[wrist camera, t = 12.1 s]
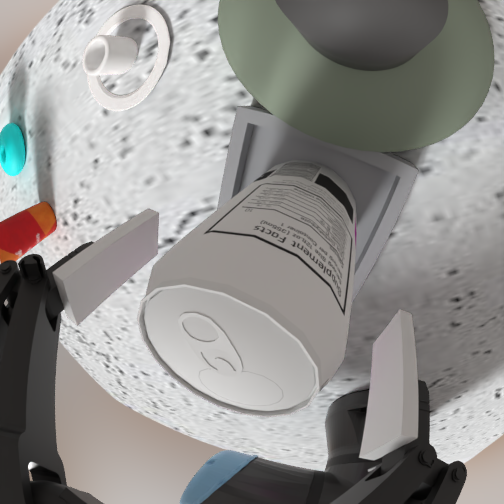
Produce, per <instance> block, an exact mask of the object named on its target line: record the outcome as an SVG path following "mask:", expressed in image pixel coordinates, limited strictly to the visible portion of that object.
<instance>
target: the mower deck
mask: <svg viewBox="0 0 504 504" xmlns="http://www.w3.org/2000/svg"><path fill="white" fill-rule="evenodd" d="M218 26H219V35H220V39H221V43H222V47H223V50H224V52H225V55H226V57H227V60H228V62H229V64H230V66H231V67H232V69H233V71H234V73H235V74H236V76H237V78H238V79H239V80H240V82H241V83H242V84H243V86H244V87H245V88H246V90H247V91H248V92H249V93H250V94H251V95H252V96H253V97H254V98H255V99H256V100H257V101H258V102H259V103H260V104H261V105H262V106H264V107H265V108H266V109H267V110H265V109H261V108H256V107H252V106H237V111H236V115H235V120H234V125H233V129H232V134H231V139H230V144H229V149H228V154H227V159H226V164H225V169H224V175H223V180H222V185H221V191H220V196H219V202H218V208H217V210H218V209H219V208H220V207H222V206H223V205H224V204H225V203H227V202H228V201H229V200H231V199H232V198H233V197H234V196H236V195H237V194H238V193H239V192H241V191H242V190H243V189H245V188H246V187H247V186H249V185H250V184H251V183H252V182H254V181H255V180H256V179H258V178H259V177H260V176H262V175H263V174H264V173H266V172H267V171H268V170H270V169H271V168H272V167H274V166H275V165H278V164H281V163H284V162H288V161H291V160H306V161H314V162H317V163H319V164H321V165H324V166H326V167H328V168H330V169H332V170H333V171H334V172H335V173H337V174H338V175H339V176H340V177H341V178H342V179H343V180H344V181H345V182H346V183H347V185H348V187H349V189H350V191H351V193H352V195H353V197H354V199H355V201H356V213H357V235H356V256H355V272H354V284H353V295H352V302H353V301H354V299H355V297H356V296H357V294H358V292H359V290H360V289H361V287H362V285H363V284H364V282H365V280H366V278H367V277H368V275H369V273H370V271H371V269H372V268H373V266H374V264H375V262H376V260H377V258H378V257H379V255H380V253H381V251H382V249H383V247H384V245H385V243H386V241H387V239H388V237H389V235H390V233H391V231H392V229H393V227H394V225H395V223H396V221H397V219H398V217H399V215H400V212H401V210H402V208H403V206H404V204H405V201H406V199H407V197H408V195H409V192H410V190H411V188H412V185H413V183H414V181H415V178H416V176H417V173H418V171H419V170H418V169H417V168H416V167H415V166H414V165H413V164H412V163H411V162H409V161H406V160H404V159H402V158H400V157H398V156H396V155H394V154H391V153H389V152H400V151H406V150H412V149H418V148H421V147H425V146H428V145H431V144H434V143H436V142H439V141H441V140H443V139H445V138H447V137H449V136H451V135H452V134H454V133H455V132H457V131H458V130H459V129H461V128H462V127H463V126H464V125H465V124H466V123H468V122H469V121H470V120H471V119H472V118H473V117H474V115H475V114H476V113H477V111H478V110H479V108H480V107H481V106H482V104H483V102H484V100H485V98H486V96H487V94H488V92H489V88H490V85H491V82H492V78H493V71H494V46H493V41H492V36H491V31H490V28H489V25H488V22H487V19H486V17H485V14H484V12H483V10H482V8H481V6H480V4H479V2H478V0H220V2H219V9H218Z"/></svg>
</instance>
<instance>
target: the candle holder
mask: <svg viewBox="0 0 504 504" xmlns="http://www.w3.org/2000/svg"><path fill="white" fill-rule="evenodd" d="M134 18H139V19H144V20H146V21H148V22H149V23H150V24H151V25H152V26H153V27H154V29H155V31H156V33H157V37H158V55H157V59H156V63H155V65H154V68H153V70H152V72H151V74H150V75H149V77H148V79H147V80H146V81H145V82H144V84H143V85H142V86H141V87H140V88H138V89H137V90H136V91H134V92H132V93H130V94H128V95H123V96H119V95H114V94H112V93H110V92H109V91H108V90H107V89H106V88H105V87H104V85H103V84H102V81H101V79H100V75H114V74H123V73H125V72H127V71H128V70H130V69H131V68H132V66H133V65H134V63H135V61H136V58H137V54H138V47H137V44H136V42H135V41H134V40H133V39H132V38H129V37H121V36H111V35H109V34H110V33H111V32H112V31H113V30H114V29H115V28H116V27H117V26H118V25H120V24H121V23H123V22H125V21H127V20H130V19H134ZM169 47H170V37H169V31H168V27H167V24H166V22H165V20H164V18H163V16H162V15H161V14H160V13H159V12H158V11H157V10H156V9H155V8H153V7H151V6H148V5H142V4H138V5H132V6H128V7H126V8H123V9H121V10H120V11H118V12H116V13H115V14H114V15H112V16H111V17H110V18H109V19H108V20H107V21H106V22H105V23H104V24H103V26H102V27H101V28H100V30H99V31H98V33H97V35H96V37H94V38H93V39H92V40H91V41H90V42H89V43H88V45H87V46H86V48H85V51H84V54H83V59H82V63H83V68H84V71H85V72H86V73H87V80H88V85H89V88H90V91H91V93H92V95H93V97H94V98H95V100H96V101H97V102H98V103H99V104H100V105H101V106H102V107H104V108H106V109H108V110H111V111H124V110H127V109H130V108H132V107H134V106H136V105H137V104H139V103H140V102H141V101H142V100H143V99H145V98H146V97H147V96H148V94H149V93H150V92H151V91H152V90H153V88H154V87H155V85H156V84H157V82H158V80H159V78H160V76H161V74H162V72H163V70H164V68H165V66H166V64H167V59H168V53H169Z"/></svg>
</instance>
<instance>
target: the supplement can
mask: <svg viewBox="0 0 504 504" xmlns="http://www.w3.org/2000/svg"><path fill="white" fill-rule="evenodd" d="M356 235H357V213H356V201H355V199H354V197H353V195H352V193H351V191H350V189H349V187H348V185H347V183H346V182H345V181H344V180H343V179H342V178H341V177H340V176H339V175H338V174H337V173H335V172H334V171H333V170H332V169H330V168H328V167H326V166H324V165H321V164H319V163H317V162H314V161H306V160H291V161H288V162H284V163H281V164H278V165H275V166H274V167H272V168H271V169H270V170H268V171H267V172H266V173H264V174H263V175H262V176H260V177H259V178H258V179H256V180H255V181H254V182H252V183H251V184H250V185H249V186H247V187H246V188H245V189H243V190H242V191H241V192H239V193H238V194H237V195H236V196H234V197H233V198H232V199H231V200H229V201H228V202H227V203H225V204H224V205H223V206H222V207H220V208H219V209H218V210H217V211H215V212H214V213H213V214H212V215H210V216H209V217H208V218H207V219H206V220H204V221H203V222H202V223H201V224H199V225H198V226H197V227H196V228H195V229H193V230H192V231H191V232H190V233H189V234H187V235H186V236H185V237H184V238H183V239H181V240H180V241H179V242H178V243H177V244H175V245H174V246H173V247H172V248H171V249H170V250H169V251H168V252H167V253H166V254H165V255H164V256H163V257H162V258H161V259H159V260H158V261H157V262H156V263H155V264H154V265H153V268H152V272H151V275H150V279H149V283H148V287H147V291H146V296H145V297H144V298H143V299H142V300H141V303H140V307H139V312H138V317H137V321H138V325H139V329H140V333H141V337H142V340H143V341H144V343H145V345H146V347H147V348H148V350H149V351H150V353H151V355H152V356H153V358H154V359H155V361H156V362H157V363H158V364H159V365H160V366H161V367H162V368H163V369H164V370H165V371H166V372H167V373H168V374H169V375H170V376H171V377H172V378H173V379H174V380H175V381H177V382H178V383H179V384H181V385H182V386H183V387H185V388H186V389H187V390H189V391H190V392H192V393H193V394H195V395H197V396H198V397H200V398H202V399H204V400H206V401H208V402H210V403H212V404H214V405H216V406H218V407H221V408H224V409H227V410H231V411H234V412H237V413H240V414H244V415H252V416H260V417H276V416H285V415H291V414H293V413H296V412H298V411H300V410H302V409H304V408H306V407H308V406H309V405H310V404H311V402H312V401H313V399H314V398H315V396H316V395H317V393H318V392H319V391H320V390H321V389H322V388H323V387H324V386H325V385H326V384H327V383H328V382H329V381H330V380H331V379H332V378H333V376H334V375H335V373H336V371H337V370H338V368H339V367H340V365H341V363H342V362H343V360H344V358H345V352H346V345H347V338H348V330H349V323H350V314H351V305H352V295H353V284H354V272H355V256H356Z"/></svg>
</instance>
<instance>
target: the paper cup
mask: <svg viewBox="0 0 504 504" xmlns="http://www.w3.org/2000/svg"><path fill="white" fill-rule="evenodd" d="M56 227H57V223H56V218H55V215H54V212H53V210H52V208H51V206H50V205H49V204H48V203H47V202H41V203H39V204H36V205H34V206H32V207H30V208H28V209H25V210H23V211H21V212H19V213H17V214H15V215H13V216H11V217H9V218H7V219H5V220H4V221H2V222H0V264H1V263H3V262H4V261H7V260H14V261H16V260H17V259H19V258H20V257H21V256H22V255H24V254H25V253H26V252H27V251H29V250H30V249H31V248H33V247H34V246H35V245H37V244H38V243H39V242H40V241H42V240H43V239H44V238H46V237H47V236H48V235H50V234H51V233H52V232H54V231H55V230H56Z"/></svg>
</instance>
